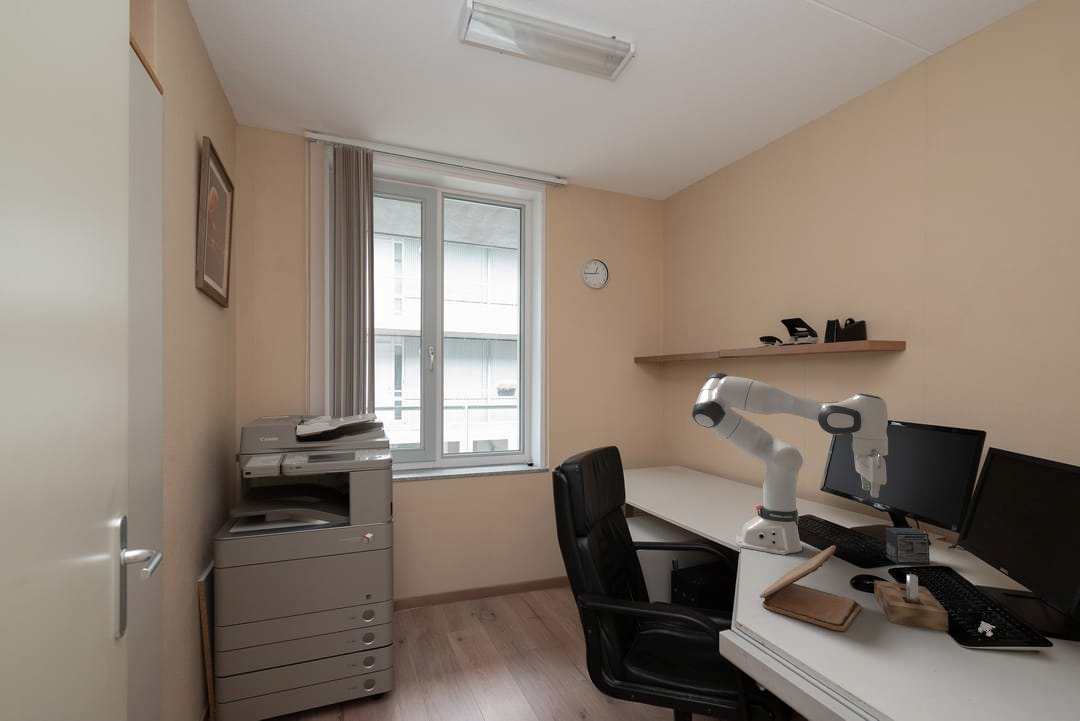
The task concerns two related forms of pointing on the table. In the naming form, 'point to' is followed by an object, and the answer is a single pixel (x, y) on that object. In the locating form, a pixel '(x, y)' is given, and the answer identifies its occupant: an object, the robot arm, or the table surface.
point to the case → (810, 598)
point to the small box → (907, 546)
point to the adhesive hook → (985, 628)
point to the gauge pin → (912, 589)
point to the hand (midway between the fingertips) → (870, 493)
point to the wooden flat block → (910, 606)
